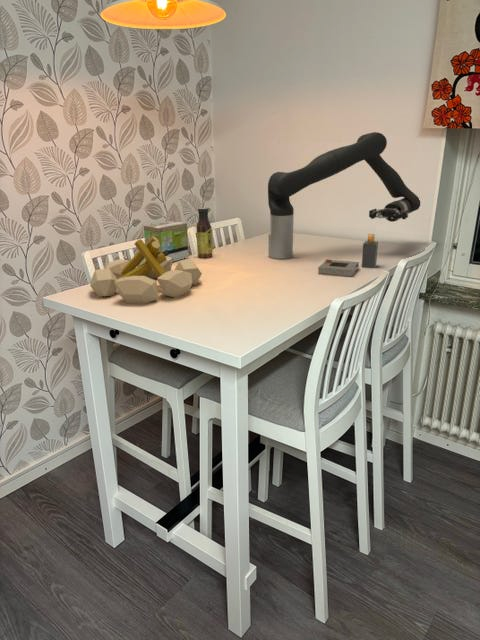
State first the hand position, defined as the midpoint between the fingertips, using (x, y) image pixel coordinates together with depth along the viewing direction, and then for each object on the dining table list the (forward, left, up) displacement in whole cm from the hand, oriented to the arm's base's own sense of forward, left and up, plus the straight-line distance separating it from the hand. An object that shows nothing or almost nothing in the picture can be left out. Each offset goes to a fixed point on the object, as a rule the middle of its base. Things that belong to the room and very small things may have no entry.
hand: (382, 216), depth 187 cm
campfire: (-66, -63, -17) cm, 93 cm away
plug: (-2, -11, -17) cm, 20 cm away
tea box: (-80, -27, -17) cm, 86 cm away
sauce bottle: (-68, -17, -17) cm, 72 cm away
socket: (-11, -22, -17) cm, 30 cm away
